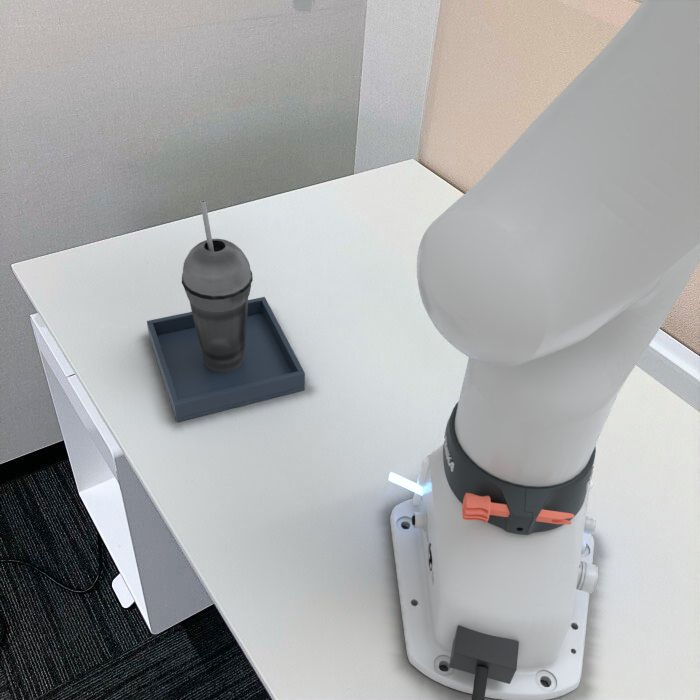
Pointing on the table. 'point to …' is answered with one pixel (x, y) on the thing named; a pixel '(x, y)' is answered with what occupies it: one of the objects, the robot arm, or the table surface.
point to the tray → (233, 387)
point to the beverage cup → (218, 299)
